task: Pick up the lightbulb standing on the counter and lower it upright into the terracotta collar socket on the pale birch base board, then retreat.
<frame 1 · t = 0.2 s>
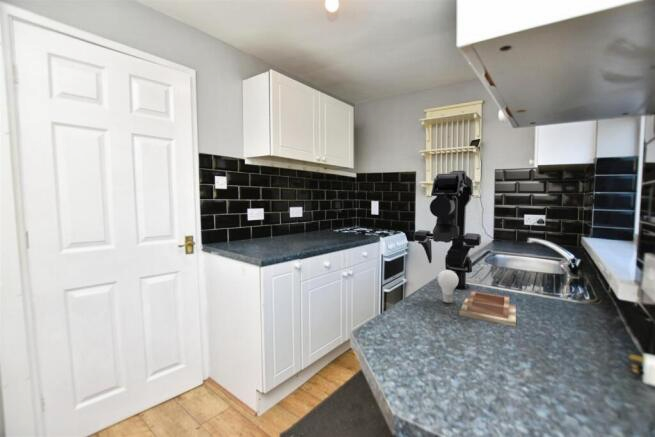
hand: (445, 264, 92), 14 cm above the worktop, fingers open, 9 cm apart
lightbulb: (447, 303, 97), on the worktop
holder: (488, 312, 89), on the worktop
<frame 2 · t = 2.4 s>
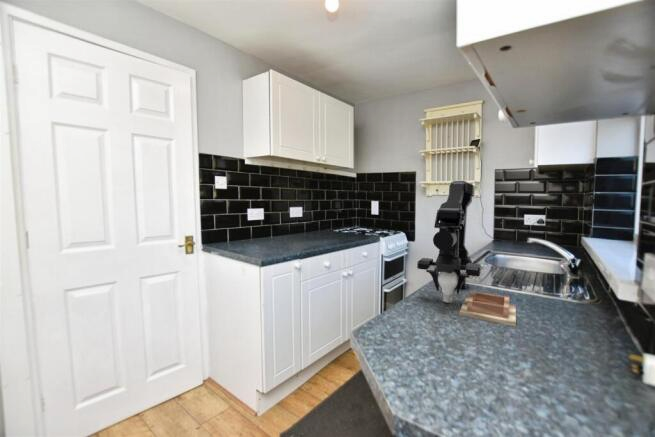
hand: (447, 292, 97), 4 cm above the worktop, fingers closed on lightbulb, 6 cm apart
lightbulb: (447, 303, 97), on the worktop, touching gripper
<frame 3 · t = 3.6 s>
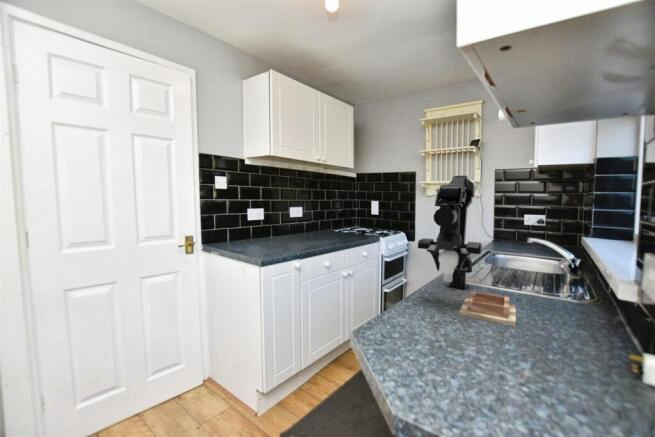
hand: (448, 271, 96), 10 cm above the worktop, fingers closed on lightbulb, 6 cm apart
lightbulb: (447, 283, 97), point 7 cm above the worktop, touching gripper
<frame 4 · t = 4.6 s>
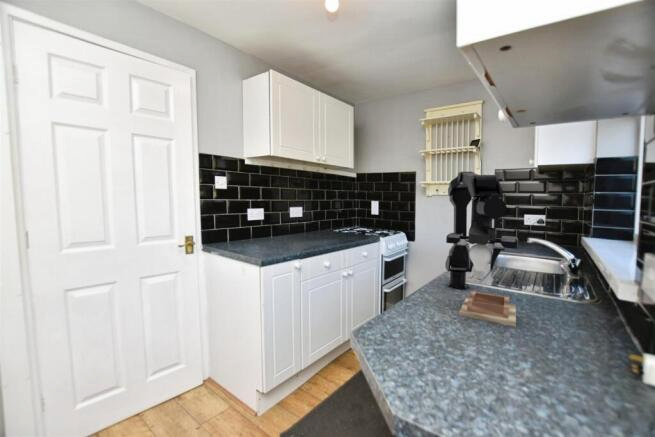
hand: (479, 268, 90), 13 cm above the worktop, fingers closed on lightbulb, 6 cm apart
lightbulb: (479, 280, 90), point 9 cm above the worktop, touching gripper
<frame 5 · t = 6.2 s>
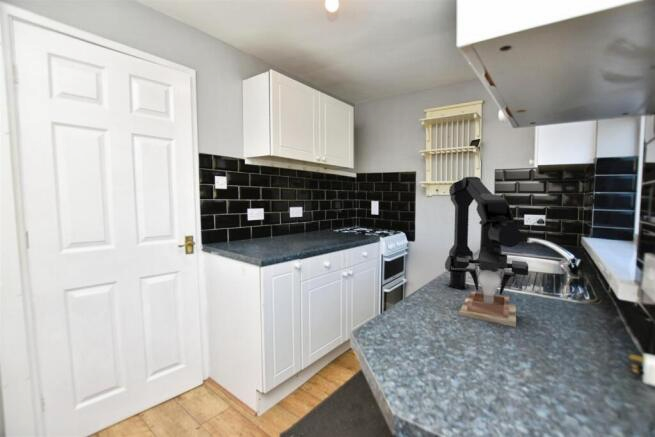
hand: (488, 292, 89), 6 cm above the worktop, fingers closed on lightbulb, 6 cm apart
lightbulb: (488, 304, 89), point 2 cm above the worktop, touching gripper
when the fingers open (6 cm above the worktop, at t = 7.2 s): lightbulb drops 1 cm, resting on holder.
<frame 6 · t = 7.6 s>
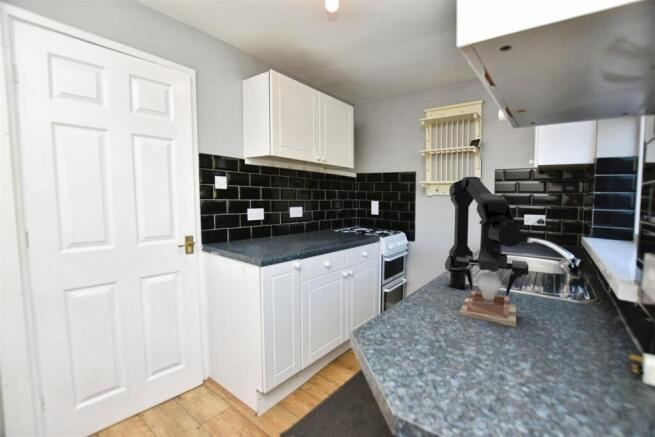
hand: (488, 292, 89), 6 cm above the worktop, fingers open, 9 cm apart
lightbulb: (488, 309, 89), point 1 cm above the worktop, touching holder
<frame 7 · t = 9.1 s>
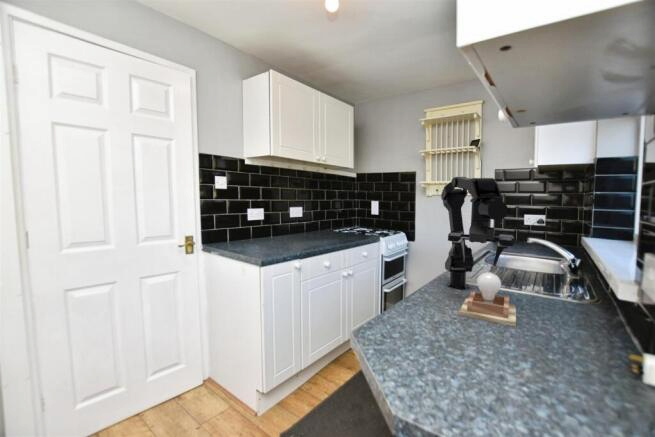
hand: (478, 264, 97), 13 cm above the worktop, fingers open, 9 cm apart
nothing on the worktop moved.
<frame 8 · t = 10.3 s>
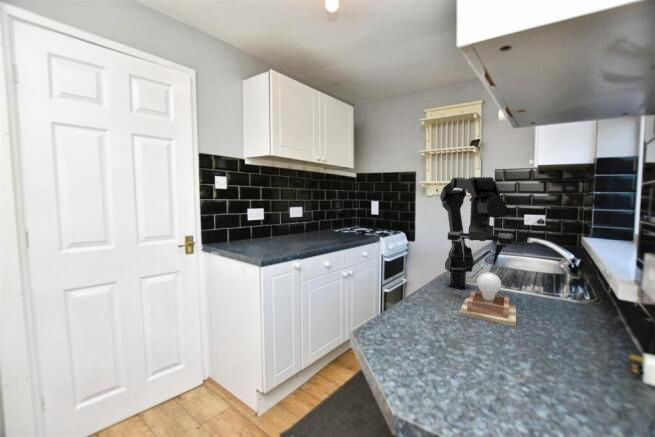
hand: (478, 262, 98), 13 cm above the worktop, fingers open, 9 cm apart
nothing on the worktop moved.
at the end: lightbulb 0.1 cm off-centre on the holder, point 1.0 cm above the holder's base; lightbulb tilted 1°; the gripper is holding nothing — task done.
